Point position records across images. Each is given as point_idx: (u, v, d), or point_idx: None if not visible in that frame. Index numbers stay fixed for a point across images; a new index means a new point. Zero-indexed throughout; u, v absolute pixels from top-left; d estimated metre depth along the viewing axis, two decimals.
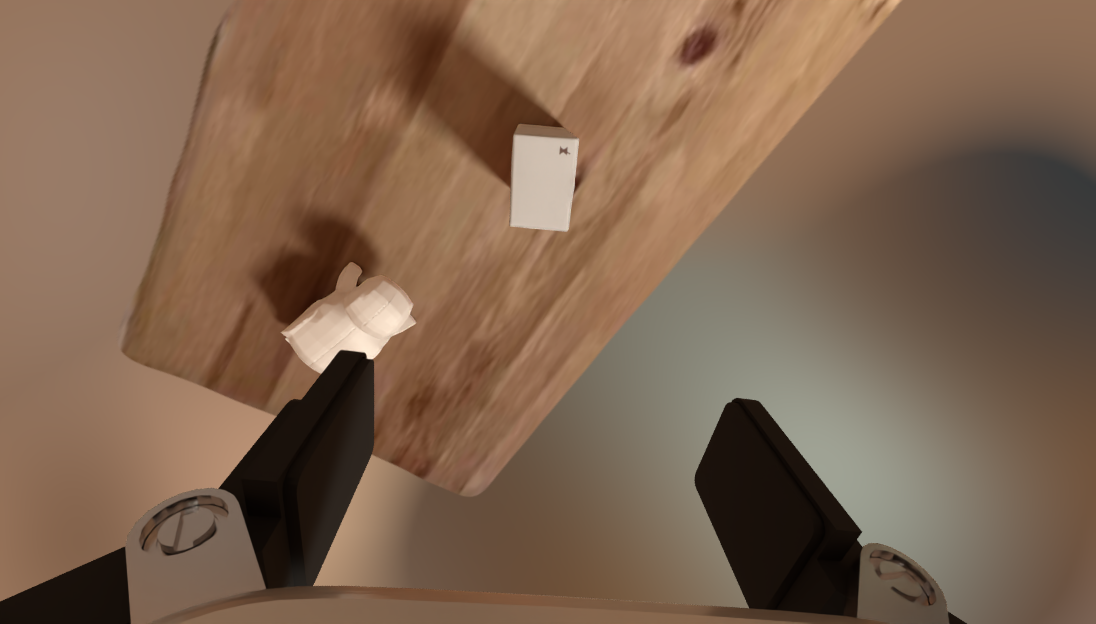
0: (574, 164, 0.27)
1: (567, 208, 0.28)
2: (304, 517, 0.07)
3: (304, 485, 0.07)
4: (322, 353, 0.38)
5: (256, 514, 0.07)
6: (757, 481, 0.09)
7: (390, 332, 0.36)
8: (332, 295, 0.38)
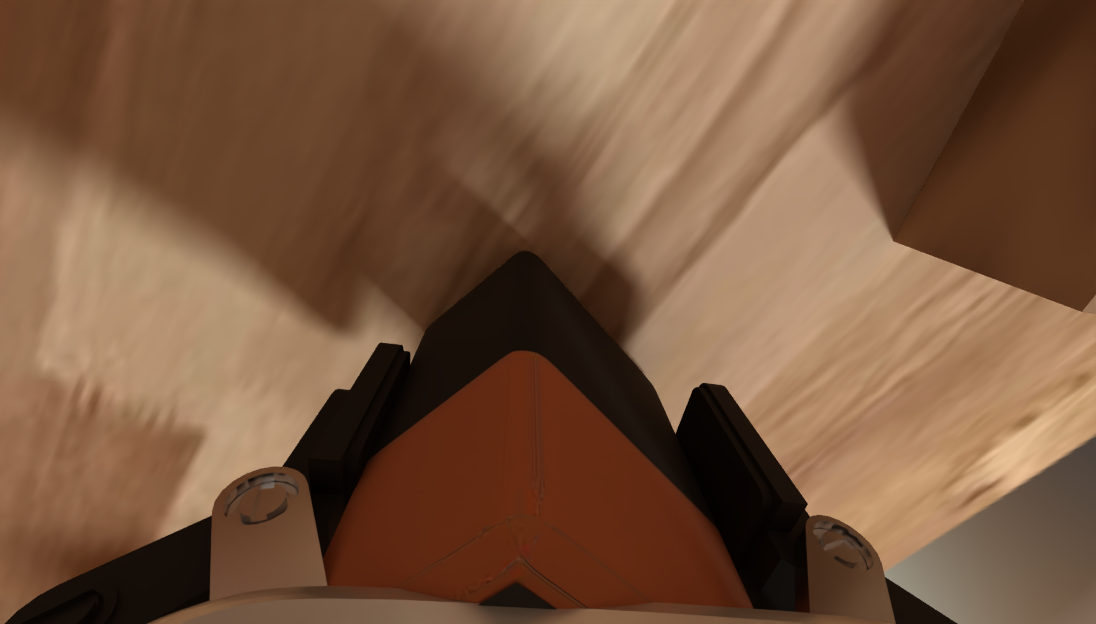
0: None
1: None
2: None
3: (360, 465, 0.08)
4: None
5: (319, 491, 0.07)
6: (717, 460, 0.10)
7: None
8: None
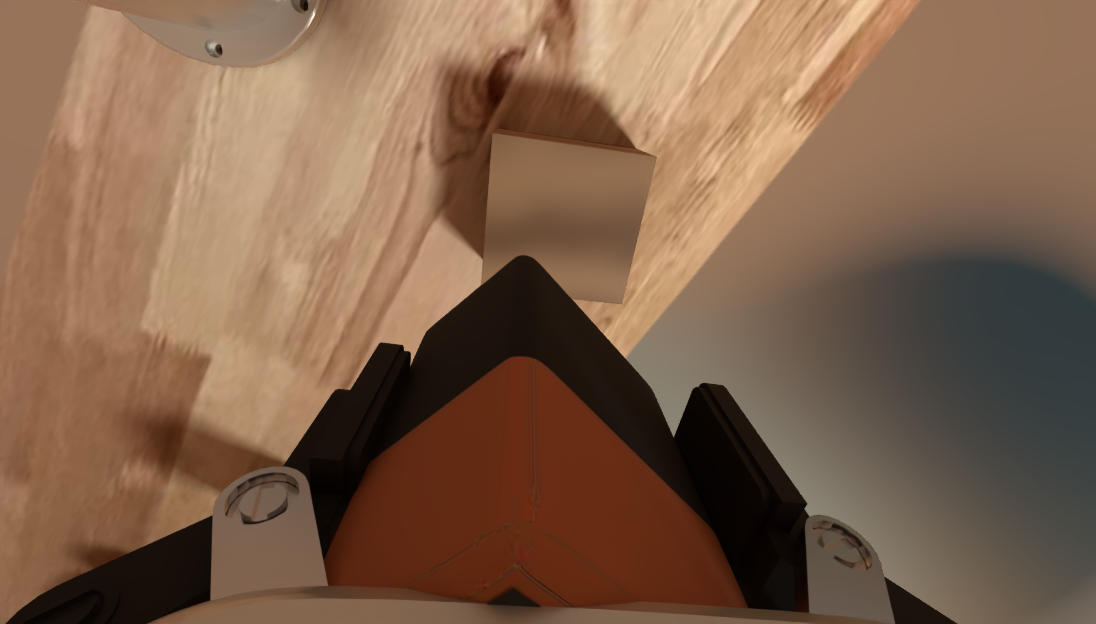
0: None
1: None
2: None
3: (361, 465, 0.08)
4: None
5: (320, 491, 0.07)
6: (717, 460, 0.10)
7: None
8: None
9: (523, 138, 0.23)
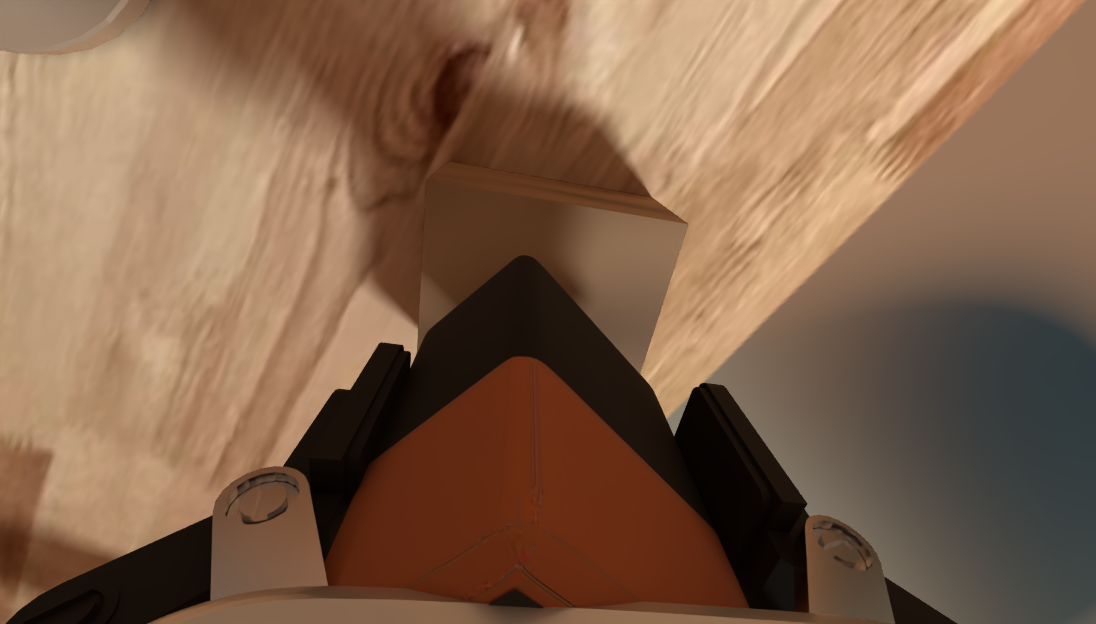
0: None
1: None
2: None
3: (361, 465, 0.08)
4: None
5: (320, 491, 0.07)
6: (717, 460, 0.10)
7: None
8: None
9: (477, 189, 0.14)
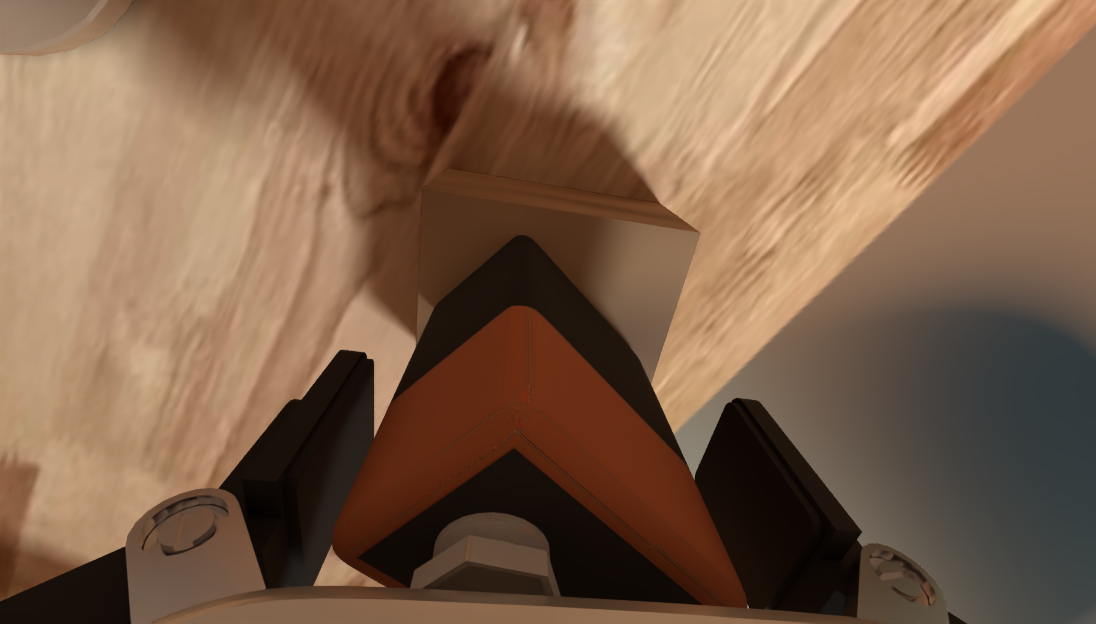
0: None
1: None
2: (304, 517, 0.07)
3: (304, 485, 0.07)
4: None
5: (256, 514, 0.07)
6: (757, 481, 0.09)
7: None
8: None
9: (476, 198, 0.13)
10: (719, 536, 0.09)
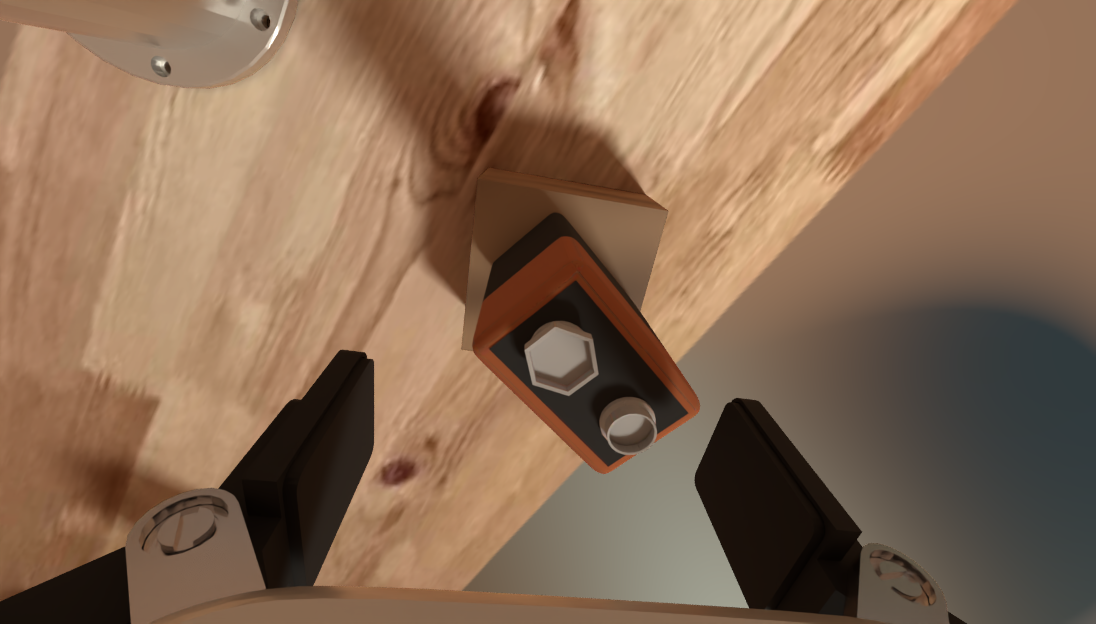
0: None
1: None
2: (304, 517, 0.07)
3: (304, 485, 0.07)
4: None
5: (256, 514, 0.07)
6: (757, 481, 0.09)
7: None
8: None
9: (513, 185, 0.19)
10: None
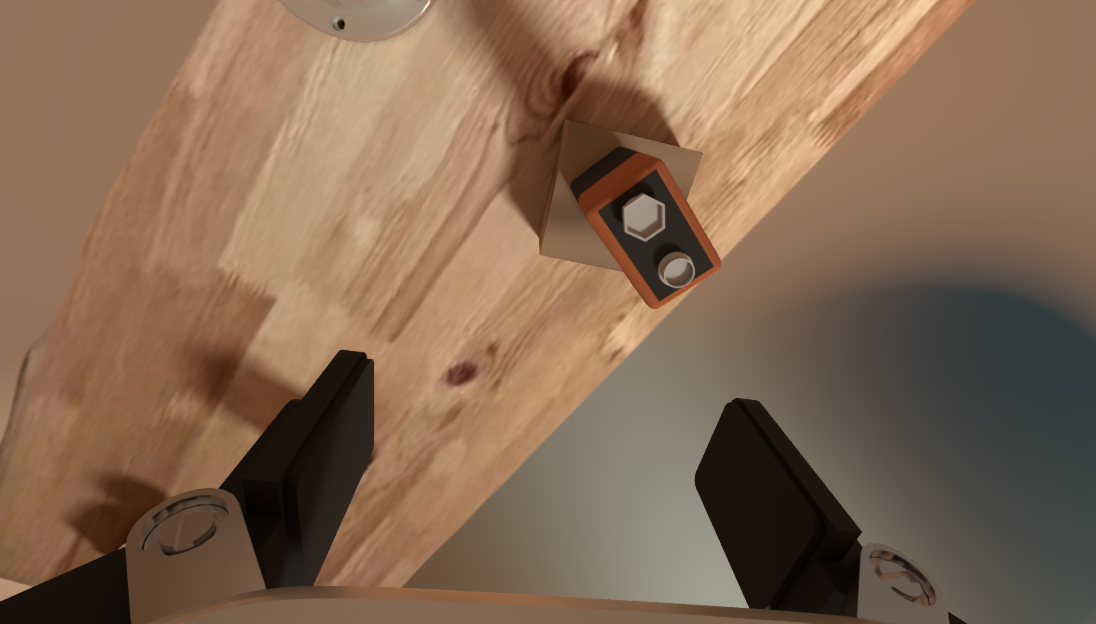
0: None
1: None
2: (304, 517, 0.07)
3: (305, 485, 0.07)
4: None
5: (257, 514, 0.07)
6: (757, 481, 0.09)
7: None
8: None
9: (594, 126, 0.27)
10: None
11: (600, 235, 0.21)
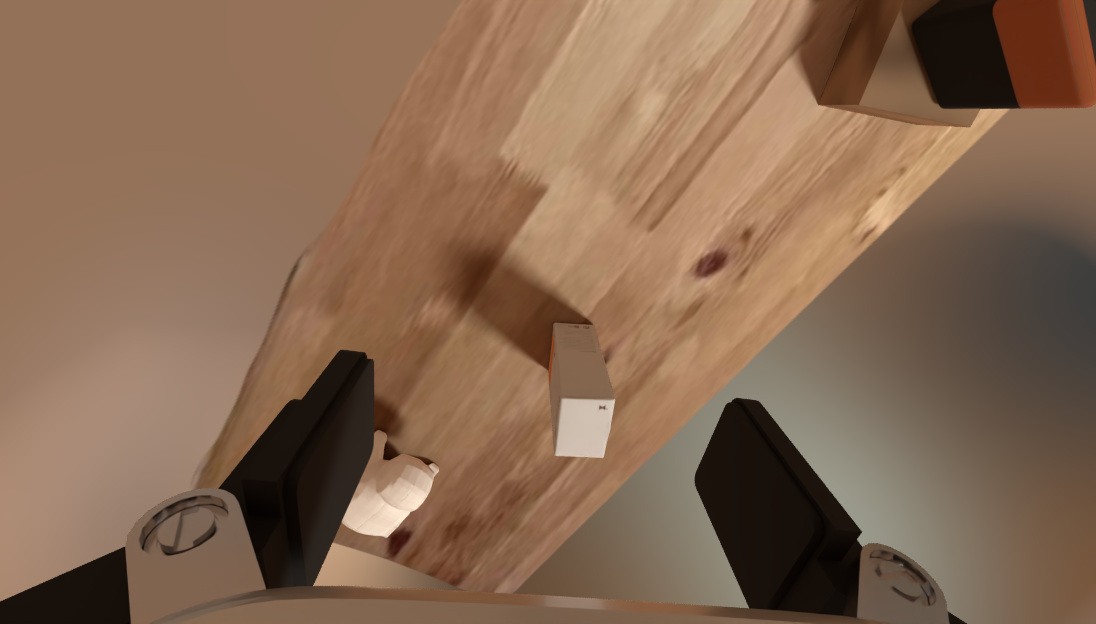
0: (610, 415, 0.32)
1: (603, 443, 0.33)
2: (304, 517, 0.07)
3: (304, 485, 0.07)
4: (361, 522, 0.43)
5: (257, 514, 0.07)
6: (757, 481, 0.09)
7: (417, 507, 0.41)
8: None
9: None
10: None
11: (1066, 19, 0.20)
